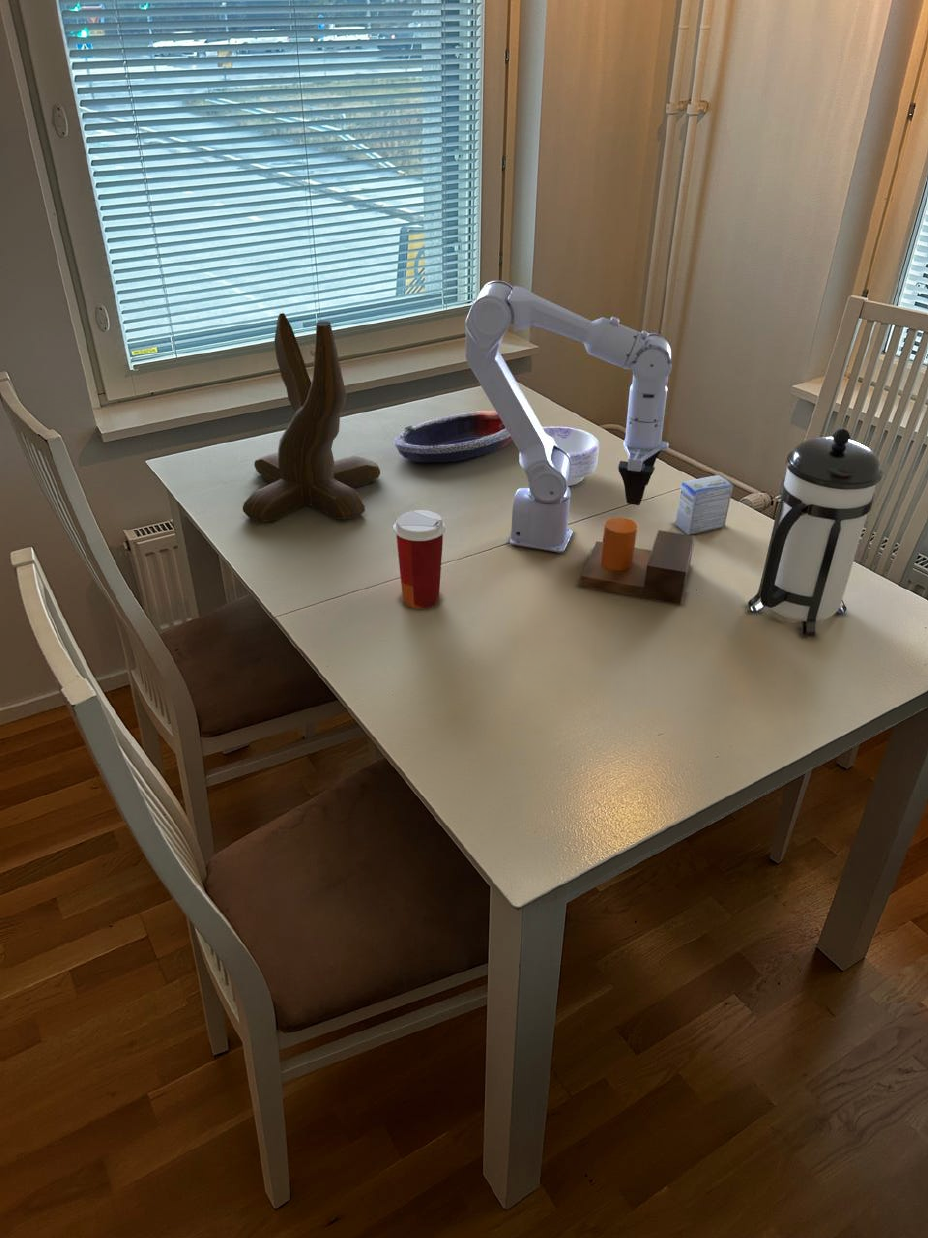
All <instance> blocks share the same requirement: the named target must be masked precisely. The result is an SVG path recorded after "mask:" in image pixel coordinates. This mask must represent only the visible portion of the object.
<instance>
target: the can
mask: <svg viewBox="0 0 928 1238" xmlns="http://www.w3.org/2000/svg"><path fill="white" fill-rule="evenodd" d="M637 532H638V524H637V523H636V522H635V521H633V520H632V519H630V518H626V517H621V516H620V517H618V516H617V517H610V518H608V519H607V520H605V521H604V524H603V535H602V541H601V542H602V550H601V559H600V562H601V564H602V565H603V566H604V567H605V568H607V569H610V570H615V571H622V570H627V569H629V568H630V567H631V566H632V563H633V555H634V548H636V539H637Z"/></svg>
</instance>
